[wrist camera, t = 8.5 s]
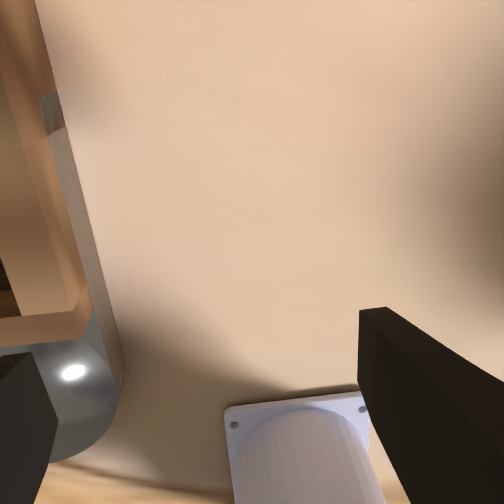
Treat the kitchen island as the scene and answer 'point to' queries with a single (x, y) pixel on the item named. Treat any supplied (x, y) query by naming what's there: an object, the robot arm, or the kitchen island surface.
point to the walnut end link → (33, 197)
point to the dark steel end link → (95, 334)
